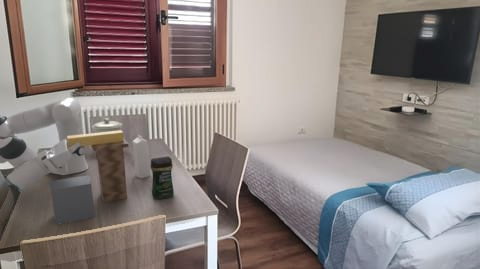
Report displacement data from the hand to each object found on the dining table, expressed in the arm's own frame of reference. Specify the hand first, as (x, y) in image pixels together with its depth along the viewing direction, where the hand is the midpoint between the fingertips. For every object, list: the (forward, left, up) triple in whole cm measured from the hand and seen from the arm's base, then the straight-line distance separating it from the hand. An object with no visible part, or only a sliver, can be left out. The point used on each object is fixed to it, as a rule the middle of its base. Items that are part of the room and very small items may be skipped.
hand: (78, 140), depth 146 cm
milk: (+10, +34, -28) cm, 45 cm away
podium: (+4, -12, -28) cm, 31 cm away
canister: (-32, +70, -28) cm, 82 cm away
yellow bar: (+5, +5, -2) cm, 7 cm away
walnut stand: (+9, +8, -28) cm, 30 cm away
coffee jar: (+31, +13, -28) cm, 44 cm away
